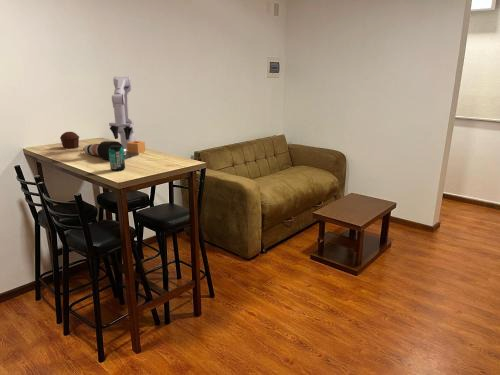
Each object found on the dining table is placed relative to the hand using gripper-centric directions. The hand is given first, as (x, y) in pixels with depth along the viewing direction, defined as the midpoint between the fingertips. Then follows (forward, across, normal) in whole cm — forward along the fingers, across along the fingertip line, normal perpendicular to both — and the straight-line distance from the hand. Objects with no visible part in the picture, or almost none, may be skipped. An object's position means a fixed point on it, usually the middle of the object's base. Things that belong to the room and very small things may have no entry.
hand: (122, 139), depth 230 cm
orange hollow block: (+9, +3, +8) cm, 13 cm away
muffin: (+9, -44, +6) cm, 45 cm away
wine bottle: (+10, -9, -9) cm, 16 cm away
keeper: (+9, +4, -5) cm, 11 cm away
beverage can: (+9, +20, -32) cm, 38 cm away
